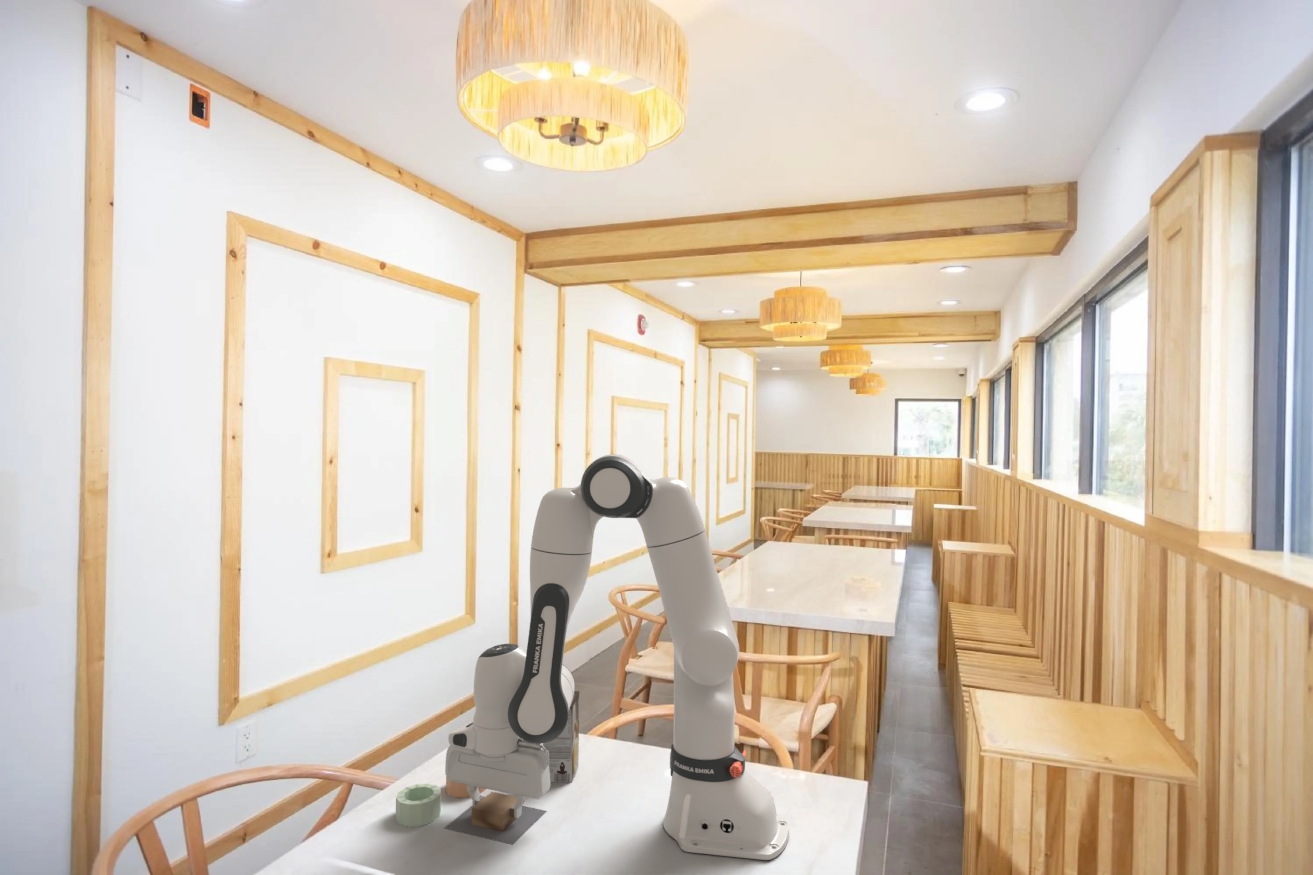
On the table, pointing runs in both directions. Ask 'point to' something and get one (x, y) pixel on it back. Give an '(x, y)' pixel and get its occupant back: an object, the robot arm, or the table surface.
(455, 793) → the bowl terracotta
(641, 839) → the table surface
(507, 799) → the cardboard box
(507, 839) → the mat
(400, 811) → the bowl sage
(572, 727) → the coffee box
